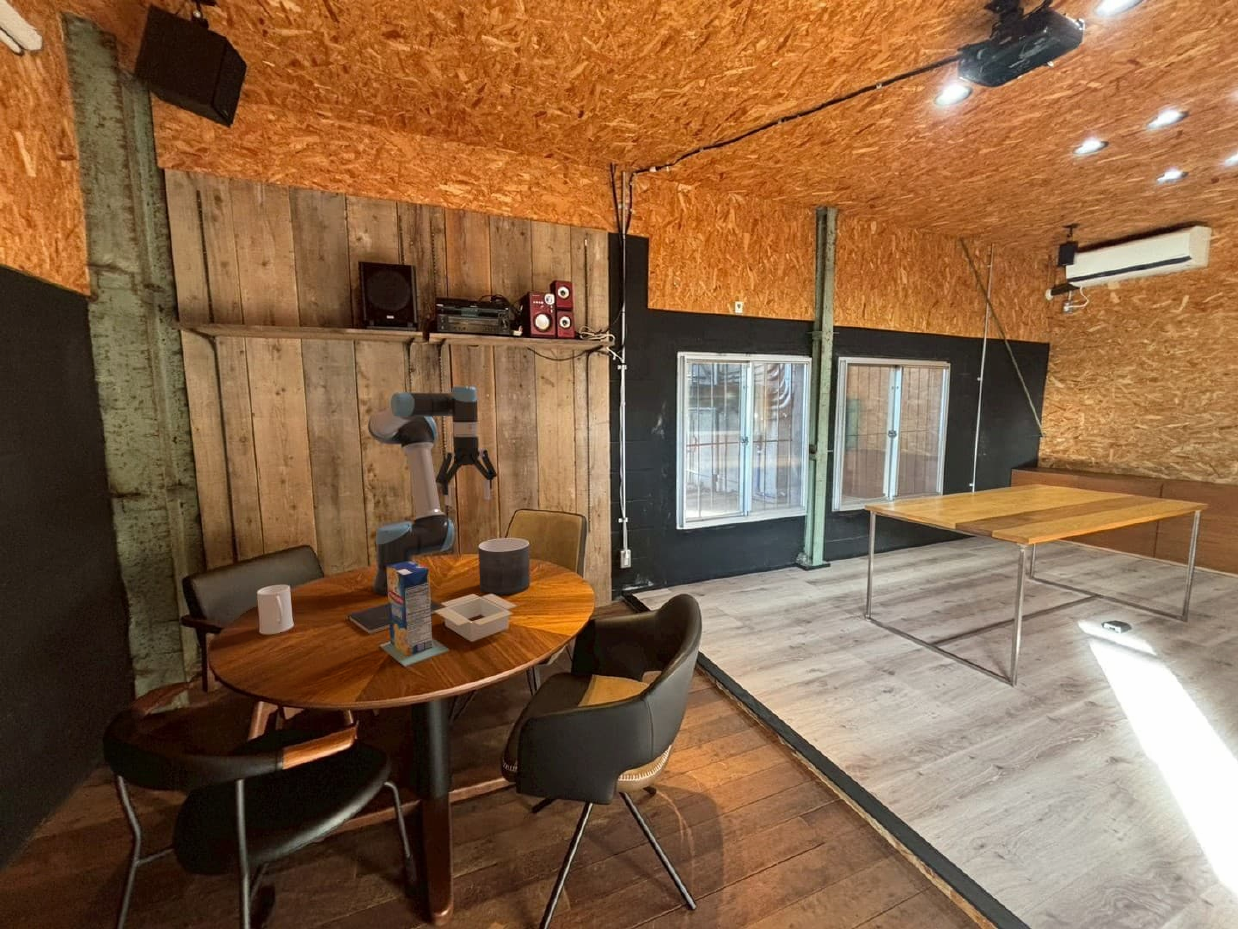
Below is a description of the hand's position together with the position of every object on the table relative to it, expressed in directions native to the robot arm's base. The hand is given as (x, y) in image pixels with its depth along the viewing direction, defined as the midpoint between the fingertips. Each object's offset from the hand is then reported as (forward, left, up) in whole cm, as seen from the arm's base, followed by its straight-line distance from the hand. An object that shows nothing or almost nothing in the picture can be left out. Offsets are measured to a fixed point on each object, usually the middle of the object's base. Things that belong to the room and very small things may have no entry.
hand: (468, 502), depth 164 cm
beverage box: (+13, -26, -34) cm, 45 cm away
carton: (+15, -7, -35) cm, 38 cm away
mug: (-25, -49, -35) cm, 65 cm away
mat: (+15, -26, -35) cm, 46 cm away
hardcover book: (-11, -20, -36) cm, 42 cm away
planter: (-8, +18, -35) cm, 40 cm away
